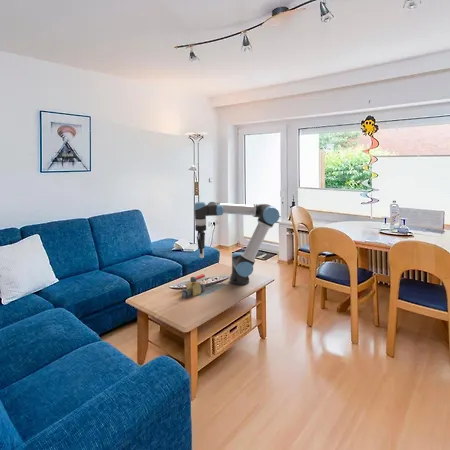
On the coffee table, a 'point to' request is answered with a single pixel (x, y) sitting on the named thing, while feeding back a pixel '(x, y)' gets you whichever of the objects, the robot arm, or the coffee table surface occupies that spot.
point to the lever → (193, 279)
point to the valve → (193, 289)
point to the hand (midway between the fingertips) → (201, 257)
